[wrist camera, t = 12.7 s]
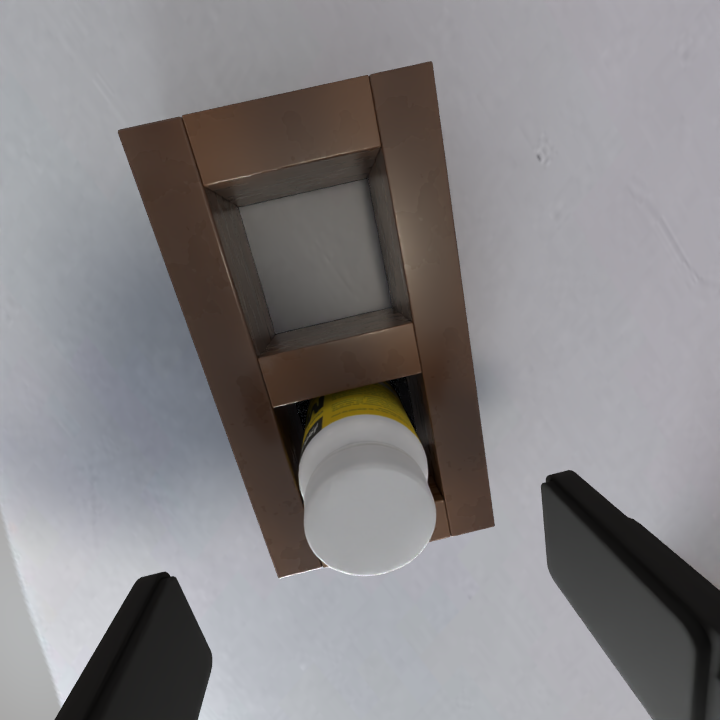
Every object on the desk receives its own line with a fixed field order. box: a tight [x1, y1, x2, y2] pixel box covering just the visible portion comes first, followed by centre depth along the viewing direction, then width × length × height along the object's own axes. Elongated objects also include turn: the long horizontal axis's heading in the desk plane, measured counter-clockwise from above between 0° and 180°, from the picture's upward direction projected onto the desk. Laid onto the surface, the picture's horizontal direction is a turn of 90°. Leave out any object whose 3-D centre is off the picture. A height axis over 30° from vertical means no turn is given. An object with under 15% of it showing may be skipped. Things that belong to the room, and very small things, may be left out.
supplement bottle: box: [298, 381, 436, 576], centre depth 14 cm, size 5×5×8 cm
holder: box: [118, 61, 495, 578], centre depth 15 cm, size 10×18×4 cm, turn 12°
